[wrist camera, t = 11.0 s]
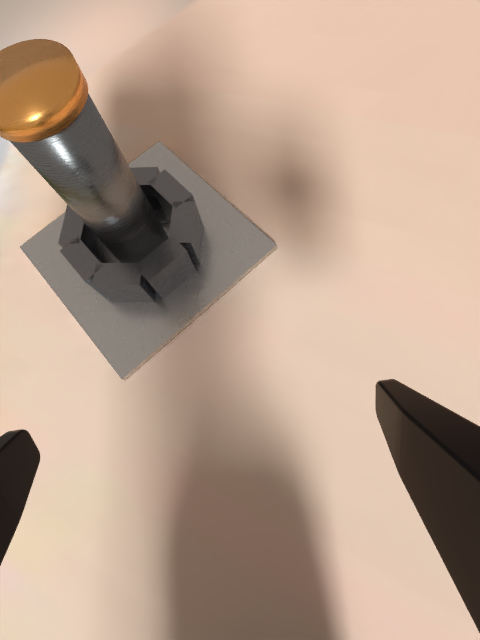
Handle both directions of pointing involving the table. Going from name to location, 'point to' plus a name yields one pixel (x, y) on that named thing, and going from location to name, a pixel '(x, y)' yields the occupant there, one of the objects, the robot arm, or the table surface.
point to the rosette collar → (150, 263)
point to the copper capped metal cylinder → (74, 146)
